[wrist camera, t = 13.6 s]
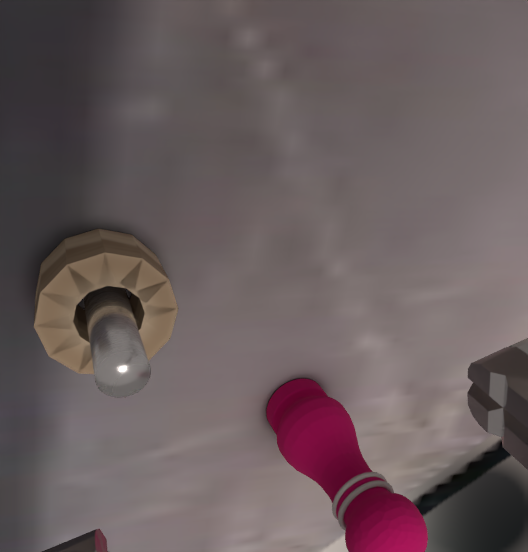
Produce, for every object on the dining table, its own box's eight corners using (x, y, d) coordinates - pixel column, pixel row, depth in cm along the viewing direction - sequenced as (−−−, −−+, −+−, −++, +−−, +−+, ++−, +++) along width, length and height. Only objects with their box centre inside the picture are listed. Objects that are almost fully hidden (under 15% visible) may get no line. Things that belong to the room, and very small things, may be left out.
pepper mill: (250, 430, 49) (357, 630, 32) (278, 368, 47) (407, 545, 30) (308, 435, 52) (433, 619, 35) (337, 378, 51) (482, 542, 34)
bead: (142, 214, 36) (154, 236, 32) (175, 315, 41) (190, 345, 36) (16, 253, 34) (12, 282, 30) (65, 355, 38) (67, 393, 34)
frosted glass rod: (116, 263, 37) (141, 343, 27) (128, 297, 39) (157, 384, 28) (76, 276, 36) (86, 363, 26) (90, 310, 38) (105, 405, 28)
